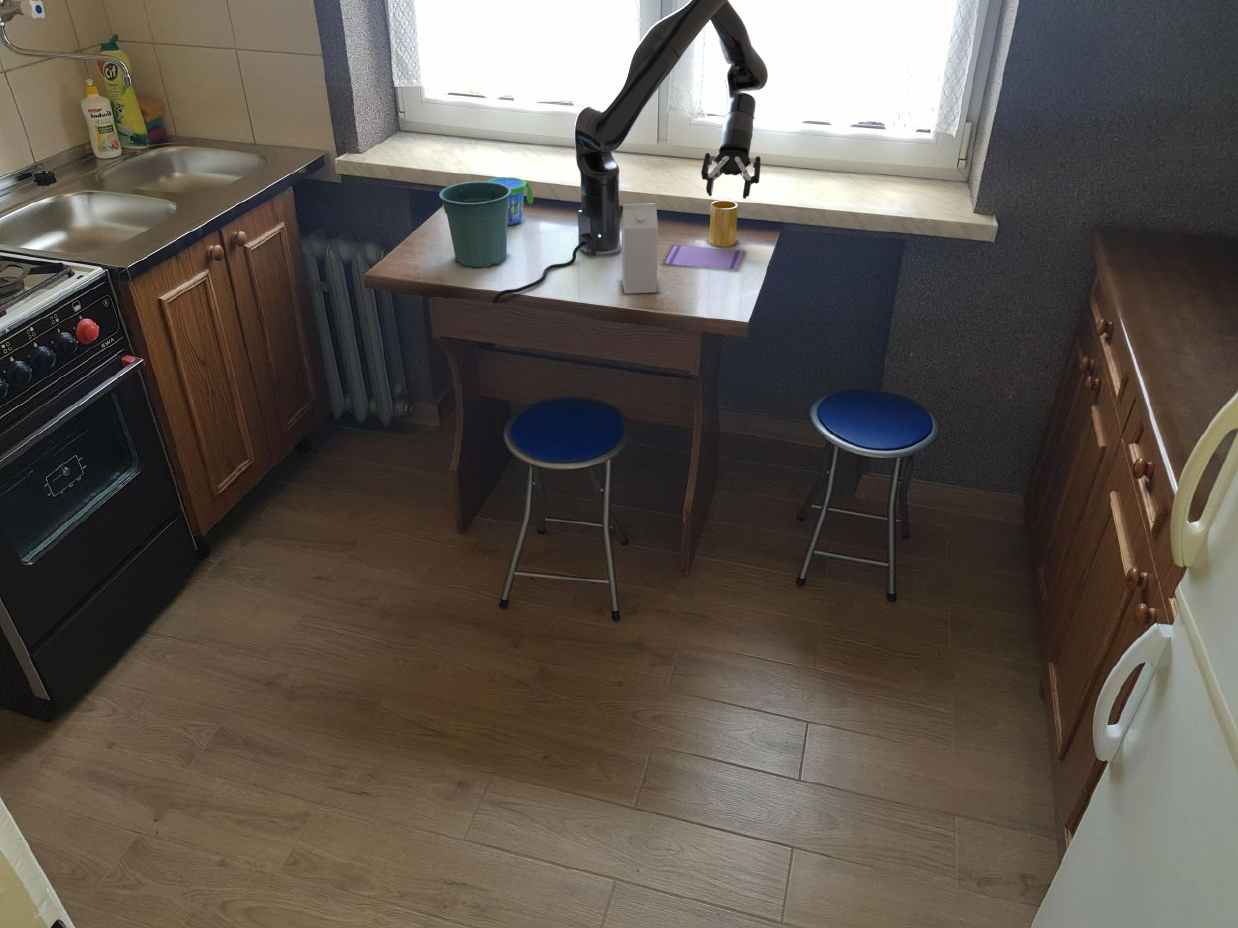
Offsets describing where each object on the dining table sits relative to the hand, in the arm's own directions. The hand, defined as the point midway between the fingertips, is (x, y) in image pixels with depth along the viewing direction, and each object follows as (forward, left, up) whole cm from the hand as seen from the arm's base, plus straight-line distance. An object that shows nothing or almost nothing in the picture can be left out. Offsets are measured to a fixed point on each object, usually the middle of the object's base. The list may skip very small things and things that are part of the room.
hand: (727, 196), depth 234 cm
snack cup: (-41, +40, -10) cm, 58 cm away
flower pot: (-58, +21, -10) cm, 62 cm away
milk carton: (-36, -14, -10) cm, 40 cm away
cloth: (-13, -9, -10) cm, 19 cm away
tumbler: (-3, -3, -10) cm, 11 cm away
